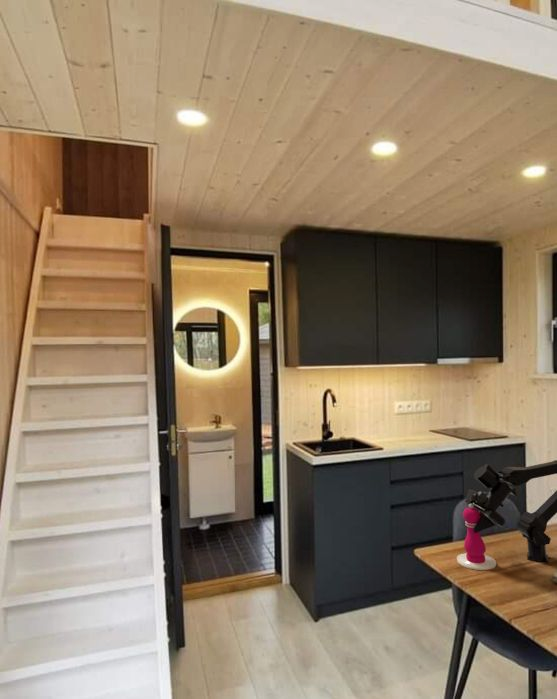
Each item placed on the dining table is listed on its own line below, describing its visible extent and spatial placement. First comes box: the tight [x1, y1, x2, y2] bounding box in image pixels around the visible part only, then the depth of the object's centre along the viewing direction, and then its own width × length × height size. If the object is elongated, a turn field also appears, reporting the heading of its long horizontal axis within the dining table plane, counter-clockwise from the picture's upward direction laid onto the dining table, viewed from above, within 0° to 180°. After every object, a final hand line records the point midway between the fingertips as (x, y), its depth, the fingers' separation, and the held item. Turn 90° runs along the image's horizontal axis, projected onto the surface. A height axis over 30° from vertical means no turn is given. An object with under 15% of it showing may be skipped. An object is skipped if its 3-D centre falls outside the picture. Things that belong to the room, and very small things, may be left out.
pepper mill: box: [462, 504, 487, 563], centre depth 156 cm, size 7×7×20 cm
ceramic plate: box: [456, 552, 497, 571], centre depth 155 cm, size 13×13×1 cm
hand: (469, 529), depth 156 cm, fingers open, 6 cm apart
